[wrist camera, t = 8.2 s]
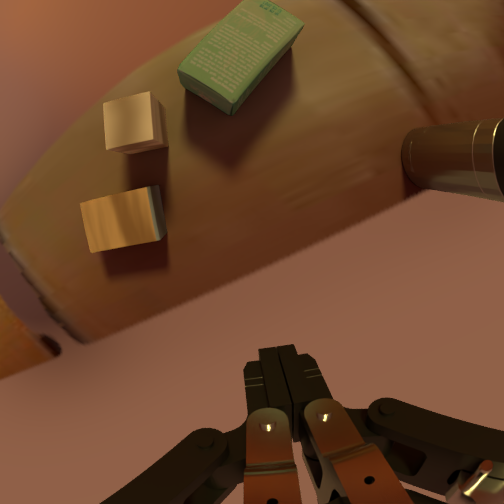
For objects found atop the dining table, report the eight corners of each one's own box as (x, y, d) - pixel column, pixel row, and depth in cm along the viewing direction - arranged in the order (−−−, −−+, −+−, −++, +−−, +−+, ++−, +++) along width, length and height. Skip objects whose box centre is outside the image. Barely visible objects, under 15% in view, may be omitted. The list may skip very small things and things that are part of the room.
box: (182, 89, 31) (173, 69, 23) (246, 18, 29) (252, -11, 21) (230, 120, 32) (233, 106, 25) (292, 46, 30) (308, 21, 23)
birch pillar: (165, 108, 31) (149, 91, 23) (168, 146, 32) (153, 139, 25) (127, 116, 31) (103, 103, 23) (130, 154, 32) (106, 149, 24)
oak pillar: (149, 186, 29) (79, 203, 29) (160, 240, 31) (90, 253, 30) (159, 184, 33) (95, 199, 33) (167, 232, 35) (104, 244, 35)
